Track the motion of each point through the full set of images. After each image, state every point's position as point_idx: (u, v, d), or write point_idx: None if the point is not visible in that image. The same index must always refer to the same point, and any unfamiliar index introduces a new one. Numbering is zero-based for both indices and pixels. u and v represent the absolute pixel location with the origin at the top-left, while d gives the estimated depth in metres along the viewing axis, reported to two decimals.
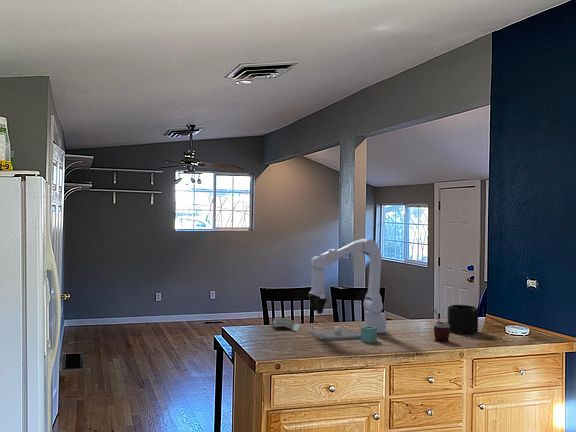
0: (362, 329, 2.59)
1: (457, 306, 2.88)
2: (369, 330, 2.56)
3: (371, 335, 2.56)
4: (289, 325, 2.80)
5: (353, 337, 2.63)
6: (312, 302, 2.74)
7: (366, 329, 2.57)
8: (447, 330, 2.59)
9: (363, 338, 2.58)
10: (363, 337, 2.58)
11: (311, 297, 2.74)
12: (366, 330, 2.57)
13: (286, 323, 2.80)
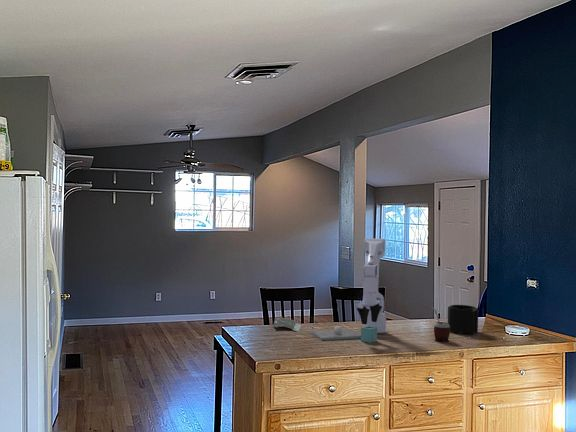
0: (362, 329, 2.59)
1: (457, 306, 2.88)
2: (369, 330, 2.56)
3: (371, 335, 2.56)
4: (290, 325, 2.80)
5: (353, 337, 2.63)
6: (372, 312, 2.62)
7: (366, 329, 2.57)
8: (447, 330, 2.59)
9: (363, 338, 2.58)
10: (363, 337, 2.58)
11: (371, 307, 2.63)
12: (366, 330, 2.57)
13: (287, 323, 2.80)
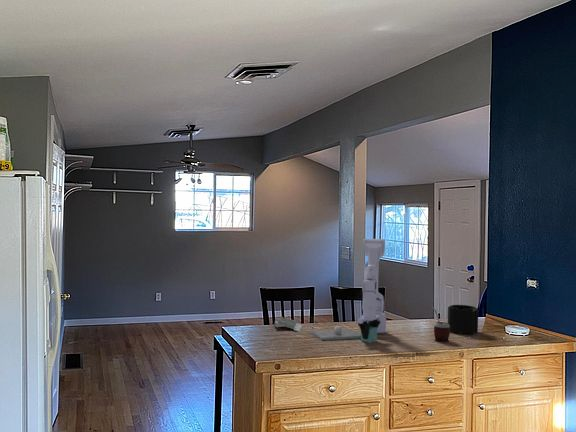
0: None
1: (457, 306, 2.88)
2: (369, 330, 2.56)
3: (371, 335, 2.56)
4: (291, 325, 2.79)
5: (353, 337, 2.63)
6: None
7: None
8: (447, 330, 2.59)
9: None
10: None
11: (369, 322, 2.62)
12: None
13: (288, 323, 2.80)
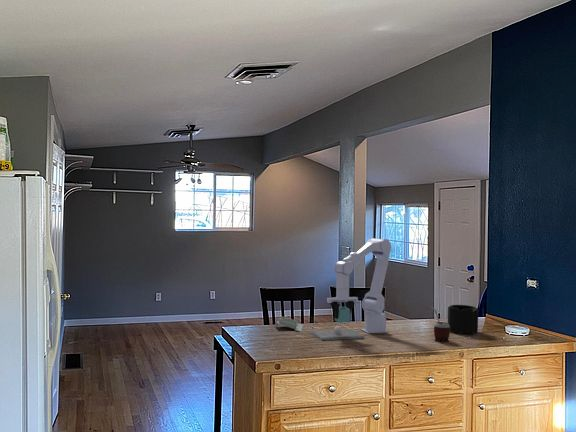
0: None
1: (457, 306, 2.88)
2: (339, 310, 2.64)
3: (340, 315, 2.63)
4: (292, 325, 2.79)
5: (353, 337, 2.63)
6: None
7: None
8: (447, 330, 2.59)
9: None
10: None
11: (346, 303, 2.69)
12: None
13: (289, 323, 2.79)
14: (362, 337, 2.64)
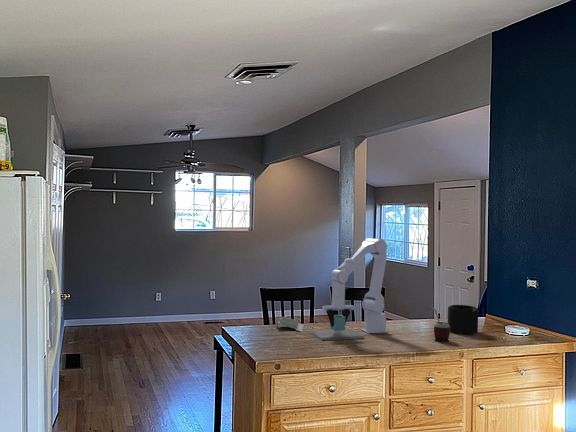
0: None
1: (457, 306, 2.88)
2: (334, 318, 2.65)
3: (336, 323, 2.65)
4: (293, 325, 2.79)
5: (353, 337, 2.63)
6: None
7: None
8: (447, 330, 2.59)
9: None
10: None
11: (342, 311, 2.70)
12: None
13: (290, 323, 2.79)
14: (362, 337, 2.64)
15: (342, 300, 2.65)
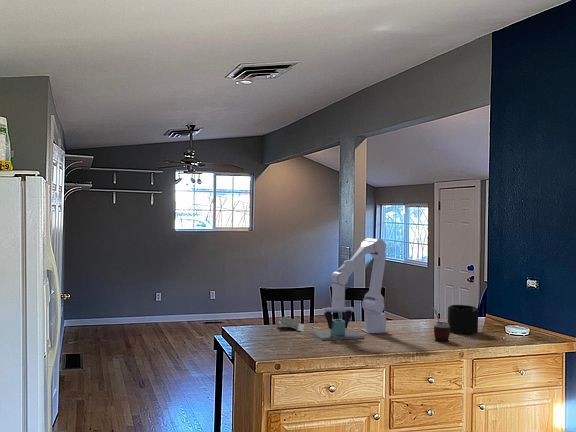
0: None
1: (457, 306, 2.88)
2: (334, 322, 2.65)
3: (336, 327, 2.65)
4: (294, 325, 2.79)
5: (353, 337, 2.63)
6: (344, 318, 2.70)
7: (333, 321, 2.67)
8: (447, 330, 2.59)
9: (331, 330, 2.68)
10: (331, 329, 2.68)
11: (344, 313, 2.70)
12: (333, 323, 2.66)
13: (291, 323, 2.79)
14: (362, 337, 2.64)
15: (342, 302, 2.65)
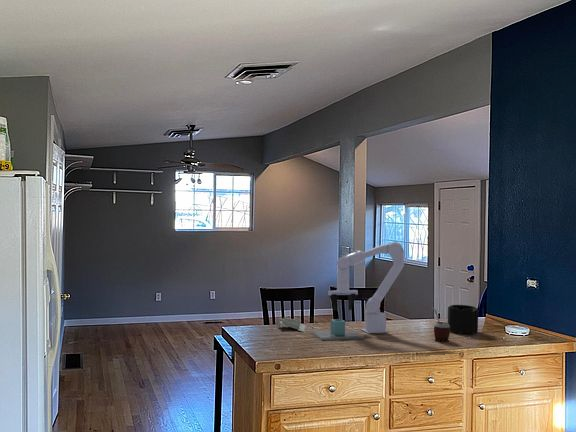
0: (331, 321, 2.69)
1: (457, 306, 2.88)
2: (334, 322, 2.65)
3: (336, 327, 2.65)
4: (295, 325, 2.79)
5: (353, 337, 2.63)
6: (349, 301, 2.84)
7: (333, 321, 2.67)
8: (447, 330, 2.59)
9: (331, 330, 2.68)
10: (331, 329, 2.68)
11: (348, 296, 2.85)
12: (333, 323, 2.66)
13: (292, 323, 2.79)
14: (362, 337, 2.64)
15: (347, 285, 2.80)
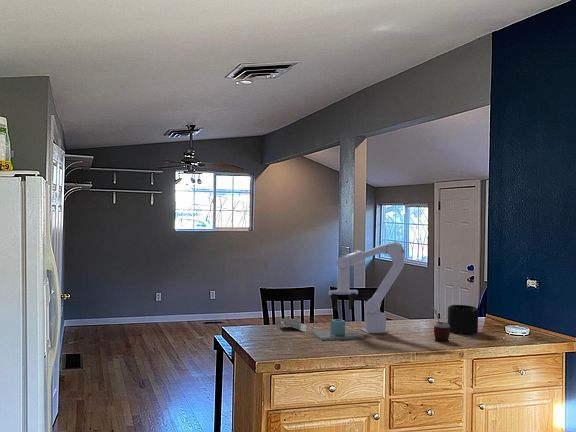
0: (331, 321, 2.69)
1: (457, 306, 2.88)
2: (334, 322, 2.65)
3: (336, 327, 2.65)
4: (297, 326, 2.79)
5: (353, 337, 2.63)
6: (349, 301, 2.85)
7: (333, 321, 2.67)
8: (447, 330, 2.59)
9: (331, 330, 2.68)
10: (331, 329, 2.68)
11: (349, 296, 2.86)
12: (333, 323, 2.66)
13: (294, 324, 2.79)
14: (362, 337, 2.64)
15: (347, 285, 2.81)
